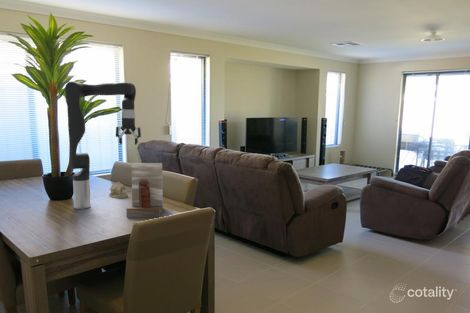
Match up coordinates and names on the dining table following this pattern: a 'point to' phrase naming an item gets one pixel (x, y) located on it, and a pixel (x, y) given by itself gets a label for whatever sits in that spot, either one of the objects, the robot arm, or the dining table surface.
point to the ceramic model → (118, 190)
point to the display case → (156, 191)
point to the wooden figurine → (144, 194)
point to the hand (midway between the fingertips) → (128, 144)
